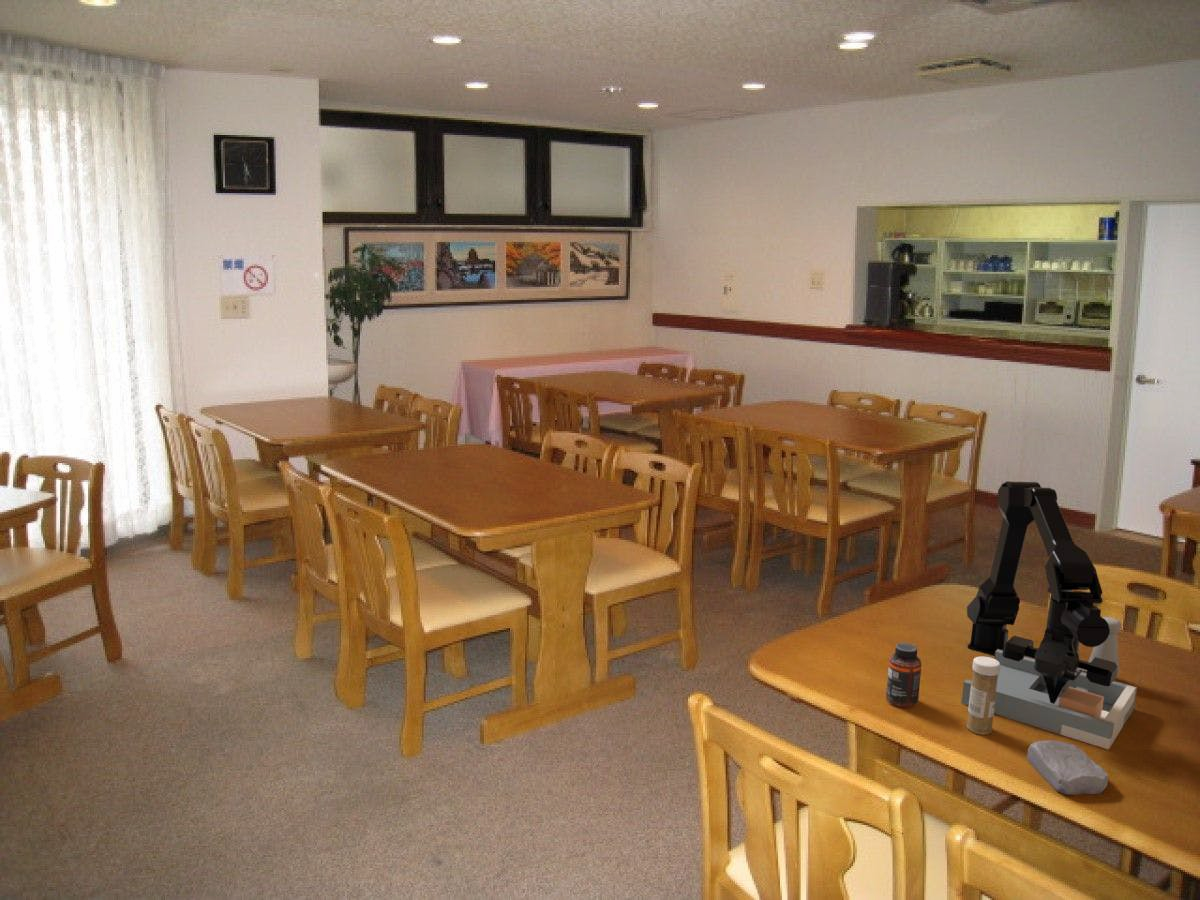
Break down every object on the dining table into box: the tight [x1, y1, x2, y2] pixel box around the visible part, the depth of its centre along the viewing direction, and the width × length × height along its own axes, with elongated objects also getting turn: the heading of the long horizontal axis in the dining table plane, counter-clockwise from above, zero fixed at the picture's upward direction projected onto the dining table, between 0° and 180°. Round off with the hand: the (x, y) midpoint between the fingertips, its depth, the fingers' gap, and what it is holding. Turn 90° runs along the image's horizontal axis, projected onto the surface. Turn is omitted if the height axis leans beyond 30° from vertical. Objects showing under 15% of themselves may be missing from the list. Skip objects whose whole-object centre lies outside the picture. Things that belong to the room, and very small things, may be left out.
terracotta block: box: [1058, 686, 1104, 719], centre depth 185 cm, size 6×6×4 cm
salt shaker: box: [1088, 616, 1122, 676], centre depth 205 cm, size 6×6×13 cm
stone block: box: [1026, 739, 1109, 796], centre depth 169 cm, size 12×5×10 cm
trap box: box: [960, 649, 1138, 750], centre depth 193 cm, size 26×20×5 cm
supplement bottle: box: [885, 642, 922, 709], centre depth 193 cm, size 6×6×11 cm
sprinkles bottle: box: [965, 655, 1000, 735], centre depth 183 cm, size 5×5×14 cm
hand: (1053, 702), depth 188 cm, fingers closed
